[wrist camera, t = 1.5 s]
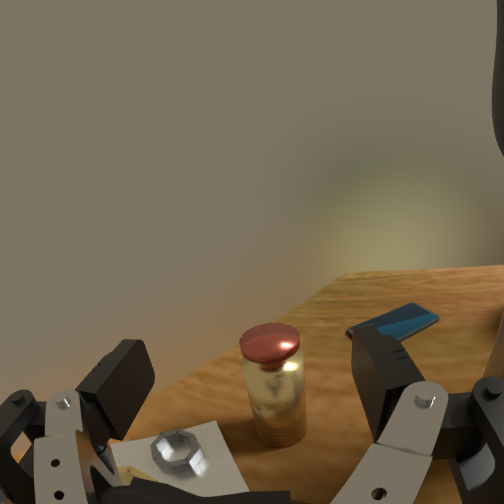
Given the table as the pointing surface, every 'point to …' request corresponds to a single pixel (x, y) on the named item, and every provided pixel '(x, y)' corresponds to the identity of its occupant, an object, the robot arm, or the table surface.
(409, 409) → the robot arm
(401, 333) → the smartphone
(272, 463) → the table surface
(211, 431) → the fitting plate
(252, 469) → the table surface
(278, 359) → the brass valve
